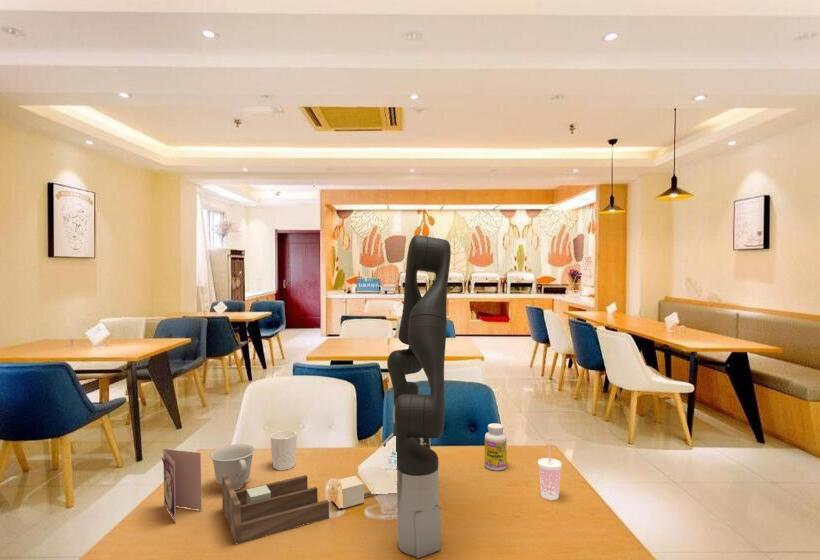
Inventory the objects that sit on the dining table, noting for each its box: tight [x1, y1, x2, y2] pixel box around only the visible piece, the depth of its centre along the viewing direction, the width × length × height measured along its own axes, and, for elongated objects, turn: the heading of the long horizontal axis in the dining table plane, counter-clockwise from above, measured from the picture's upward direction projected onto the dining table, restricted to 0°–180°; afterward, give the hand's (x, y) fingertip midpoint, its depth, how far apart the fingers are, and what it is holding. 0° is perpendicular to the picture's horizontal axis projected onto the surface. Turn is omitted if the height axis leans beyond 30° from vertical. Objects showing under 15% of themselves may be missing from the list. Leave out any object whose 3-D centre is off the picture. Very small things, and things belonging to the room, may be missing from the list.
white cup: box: [270, 430, 298, 471], centre depth 147 cm, size 8×8×10 cm
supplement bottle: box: [484, 422, 508, 472], centre depth 145 cm, size 7×7×13 cm
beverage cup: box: [537, 443, 563, 501], centre depth 126 cm, size 6×6×14 cm
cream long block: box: [338, 475, 373, 509], centre depth 128 cm, size 6×23×5 cm, turn 120°
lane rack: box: [221, 474, 330, 545], centre depth 118 cm, size 18×22×9 cm
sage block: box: [245, 484, 271, 504], centre depth 120 cm, size 5×5×5 cm
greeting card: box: [160, 448, 202, 523], centre depth 120 cm, size 11×7×15 cm, turn 40°
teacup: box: [209, 443, 256, 491], centre depth 132 cm, size 12×15×10 cm
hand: (407, 477), depth 133 cm, fingers open, 8 cm apart
